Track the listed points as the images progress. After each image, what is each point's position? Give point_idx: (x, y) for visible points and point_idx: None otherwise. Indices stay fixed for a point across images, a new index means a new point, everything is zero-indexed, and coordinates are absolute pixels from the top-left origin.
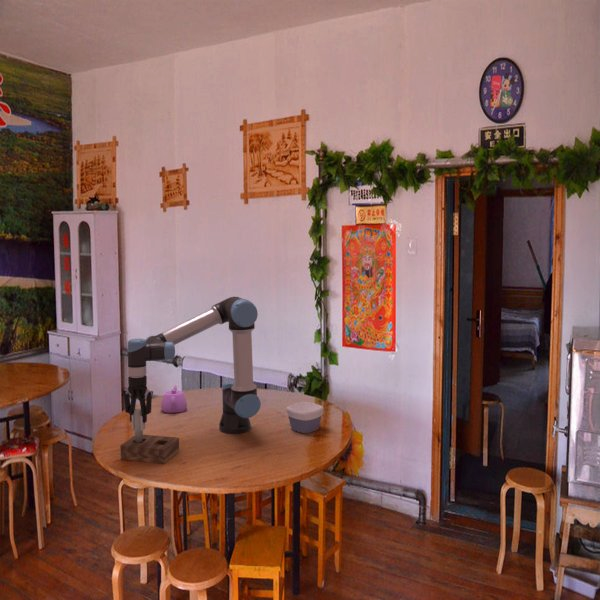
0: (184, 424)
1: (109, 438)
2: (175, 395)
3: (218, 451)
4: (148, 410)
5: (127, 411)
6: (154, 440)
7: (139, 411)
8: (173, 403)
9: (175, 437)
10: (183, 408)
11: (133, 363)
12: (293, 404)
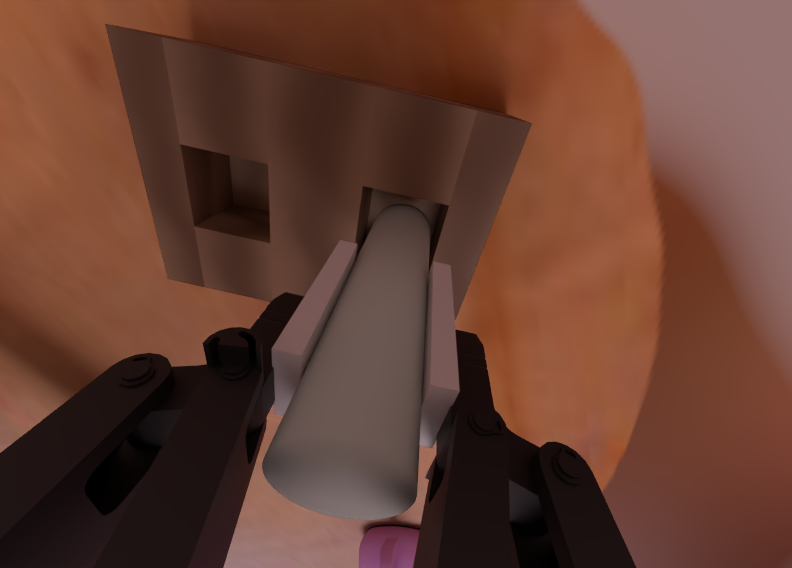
0: None
1: (598, 385)
2: None
3: (43, 237)
4: (44, 420)
5: (548, 466)
6: (291, 235)
7: (290, 431)
8: (384, 564)
9: (190, 283)
10: (364, 539)
11: None
12: None
